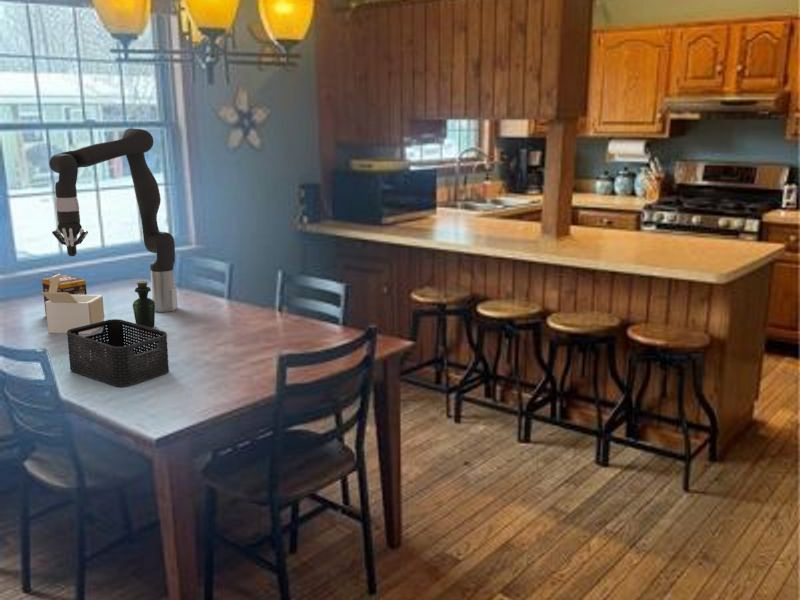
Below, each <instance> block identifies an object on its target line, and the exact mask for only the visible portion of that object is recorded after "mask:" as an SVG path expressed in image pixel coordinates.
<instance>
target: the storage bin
mask: <svg viewBox="0 0 800 600" xmlns="http://www.w3.org/2000/svg"><path fill="white" fill-rule="evenodd" d="M99 327H101V328H102V331H101V332H97V333H94V334H90V335H87V336H82V335H80V334H78V333H79V332H83V331H87V330H91V329H95V328H99ZM99 329H100V328H99ZM74 333H75V334H74ZM167 333H168V332H166V331H164V330H159V329H156V328H154V327H153V328H149V327H146V326H142V325H138V324H136V322H135V323H134V322H132V321H127V320H123V319H117V318H114V319H106V320H104V321H102V322H98V323H94V324H90V325H85V326H81V327H77V328H73V329H70V330H68V331H67V333H66V334H67V335H66V336H67V345H68V346H67V347H68V348H67V349H68V360H69V370H70V371H71V372H74V373H76V374H79V375H82V376H85V377H87V378H90V379H92V380H95V381H97V382H98V381H99V382H101V383H104V384H106V385H109V386H113V387H115V388H127V387H132V386H135V385H137V384H140V383H142V382H146V381H148V380H152V379H155V378H158V377H160V376H163V375H167V374H168V373H169V371H170V367H169V366H170V365H169V354H168V352H169V351H168V350H169V349H168V334H167ZM131 385H132V386H131Z"/></svg>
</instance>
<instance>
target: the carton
mask: <svg viewBox="0 0 800 600" xmlns="http://www.w3.org/2000/svg"><path fill="white" fill-rule="evenodd" d="M71 296H72V297H73V298H74V299H75V300H77V301H78V303H52V302H51V301H50V300H48V301H46V302H45V303H44V306H45V305H46V314H47V316H46V320H47V321H46V322H47V331H48V334H67V331H68V330H70V329H73V328H77V327H81V326H85V325H90V324H94V323H98V322H102V321H105V312H104V311H105V310H104V299H103V298H104V297H103V295H101V294H87V295H71ZM46 314H45V315H46ZM101 328H102V327H99V328H95V329H91V330H87V331H83V332H79V333H78V334H79V335H80V334H81V335H82V334H83V335H89V334H90V335H92V334H93V333H94V332H96V331H98V330H99V329H101ZM74 334H75V333H74Z"/></svg>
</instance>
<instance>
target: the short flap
mask: <svg viewBox="0 0 800 600" xmlns="http://www.w3.org/2000/svg"><path fill="white" fill-rule="evenodd" d="M60 276H61V273H58V274H56V275H52V276H51V277H50V278H51V282H50V287H49V291H48V292H57V288H58V283H59V279H60ZM47 299H48V298H47Z"/></svg>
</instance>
